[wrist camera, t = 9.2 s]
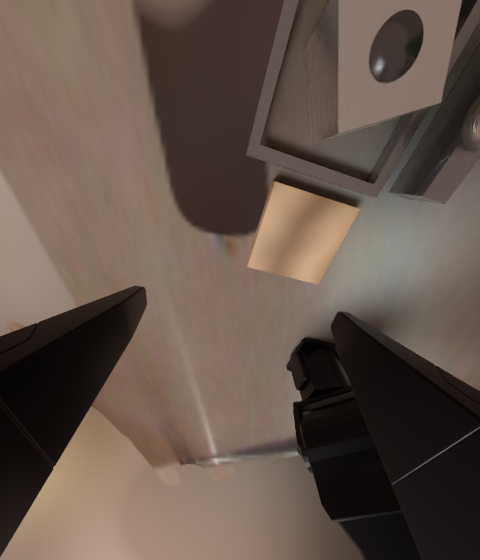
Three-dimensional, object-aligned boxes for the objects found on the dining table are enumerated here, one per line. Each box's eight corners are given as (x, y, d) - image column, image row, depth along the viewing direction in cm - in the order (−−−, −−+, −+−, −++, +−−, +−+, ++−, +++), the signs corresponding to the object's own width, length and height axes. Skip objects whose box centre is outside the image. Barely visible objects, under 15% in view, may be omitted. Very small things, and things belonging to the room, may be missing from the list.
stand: (353, 207, 18) (360, 209, 16) (314, 279, 21) (317, 284, 20) (272, 181, 16) (275, 181, 15) (246, 261, 20) (247, 266, 19)
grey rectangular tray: (532, 29, 12) (694, -50, 8) (409, 209, 18) (465, 221, 13) (307, -97, 10) (362, -308, 6) (246, 154, 15) (249, 147, 11)
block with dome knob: (390, 17, 12) (479, -74, 8) (380, 123, 15) (442, 102, 10) (303, 48, 13) (339, -20, 8) (309, 145, 15) (338, 133, 11)
